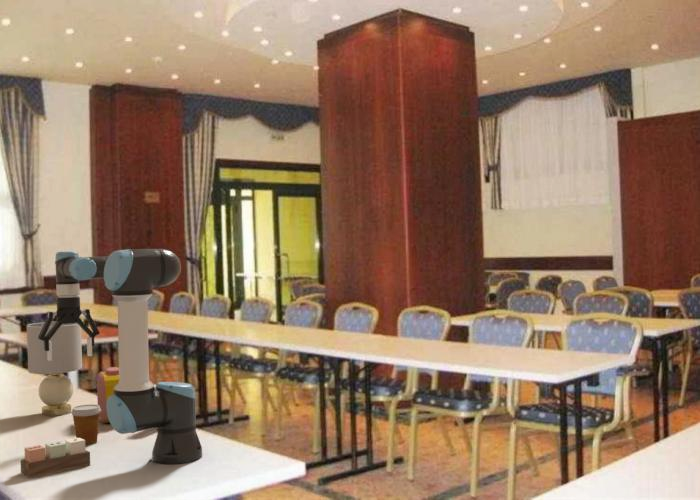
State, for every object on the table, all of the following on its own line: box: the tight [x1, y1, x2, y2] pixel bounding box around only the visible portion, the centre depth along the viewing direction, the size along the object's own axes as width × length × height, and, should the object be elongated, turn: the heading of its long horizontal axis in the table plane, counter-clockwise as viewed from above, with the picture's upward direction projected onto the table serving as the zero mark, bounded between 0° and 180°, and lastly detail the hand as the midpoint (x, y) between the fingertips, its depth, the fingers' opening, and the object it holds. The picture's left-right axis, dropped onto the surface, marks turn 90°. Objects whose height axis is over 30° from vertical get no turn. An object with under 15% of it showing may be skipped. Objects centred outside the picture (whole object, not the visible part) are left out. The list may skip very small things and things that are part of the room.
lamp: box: [26, 320, 83, 417], centre depth 311 cm, size 20×20×35 cm
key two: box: [44, 440, 66, 459], centre depth 234 cm, size 4×4×5 cm
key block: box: [20, 449, 91, 479], centre depth 234 cm, size 7×18×4 cm, turn 131°
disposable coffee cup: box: [71, 403, 101, 446], centre depth 264 cm, size 10×10×12 cm
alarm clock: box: [96, 366, 119, 424], centre depth 297 cm, size 18×11×19 cm, turn 22°
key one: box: [64, 437, 87, 455], centre depth 238 cm, size 4×4×5 cm
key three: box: [24, 444, 46, 463], centre depth 230 cm, size 4×4×5 cm
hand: (70, 358), depth 271 cm, fingers open, 13 cm apart
